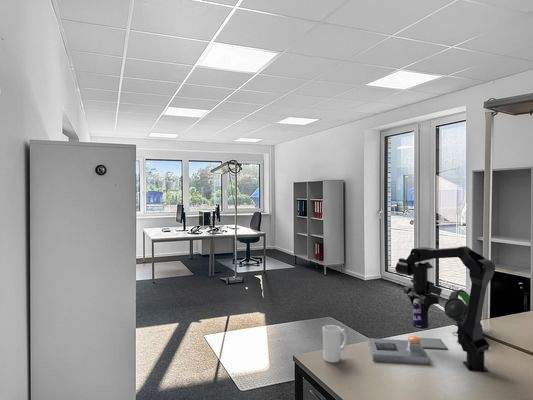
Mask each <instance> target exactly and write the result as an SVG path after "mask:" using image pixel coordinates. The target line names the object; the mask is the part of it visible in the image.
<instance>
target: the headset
mask: <svg viewBox="0 0 533 400" xmlns="http://www.w3.org/2000/svg"><path fill="white" fill-rule="evenodd" d="M459 297H460V298H459ZM469 297H470V294H469V293H467V292H466V291H465V290H463V289H456V290H454V291H452V292H450V294H449V297H448V300H447V301H446V302H445V303H444V308H443V309H444V314H445V315H446V317H448V318H449V319H451V320H453V322H455V324H456V325H457V327H458V323H460V322H464V321H465V319H466V314H467V308H468V303H469ZM481 326H482V324H481ZM482 327H483V326H482ZM456 332H457V331H456ZM456 332H455V331H453V332H452V335H453V336H455V337H458V334H456ZM456 342H457V343H460V341H459V340H458V339H456ZM460 344H461V343H460Z"/></svg>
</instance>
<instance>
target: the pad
mask: <svg viewBox="0 0 533 400" xmlns="http://www.w3.org/2000/svg"><path fill="white" fill-rule="evenodd" d="M419 338H420V344H421V346H422V347H423V349H427V348H433V349H432V350H447V351H448V350H449V348H448V347H447V345H446V344H445V342H443V340H442V339H441V338H435V337H434V338H432V337H431V338H430V337H419Z"/></svg>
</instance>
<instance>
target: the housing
mask: <svg viewBox="0 0 533 400" xmlns="http://www.w3.org/2000/svg"><path fill="white" fill-rule="evenodd" d="M368 347H369V351H370V355H371V358H372V361H373V362H385V363H386V362H387V363H399V364H401V363H402V364H416V365H417V363H418V365H429V364H430V357H429V355H428V353H427V351H426V350H425V348H423V347H422V346H421V344H411V343H409V342H408V339H390V338H389V339H388V338H387V339H385V338H372V337H370V338H368ZM378 349H379V350H378ZM380 349H381V350H380ZM384 349H385V350H384ZM392 350H393V351H392ZM394 350H395V351H394Z"/></svg>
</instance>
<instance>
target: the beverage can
mask: <svg viewBox="0 0 533 400" xmlns="http://www.w3.org/2000/svg"><path fill="white" fill-rule="evenodd" d="M418 301H420V298H415V299H414V301H413V306H412V310H413V311H412V312H413V314H412V316H413V320H412V323H413V327H414V329H416V330H419V331H425V330H427V329H428V328H429V312H428V313H427V316H426V318H423V317H422V314H421V311H420V308H419V304H418Z"/></svg>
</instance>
